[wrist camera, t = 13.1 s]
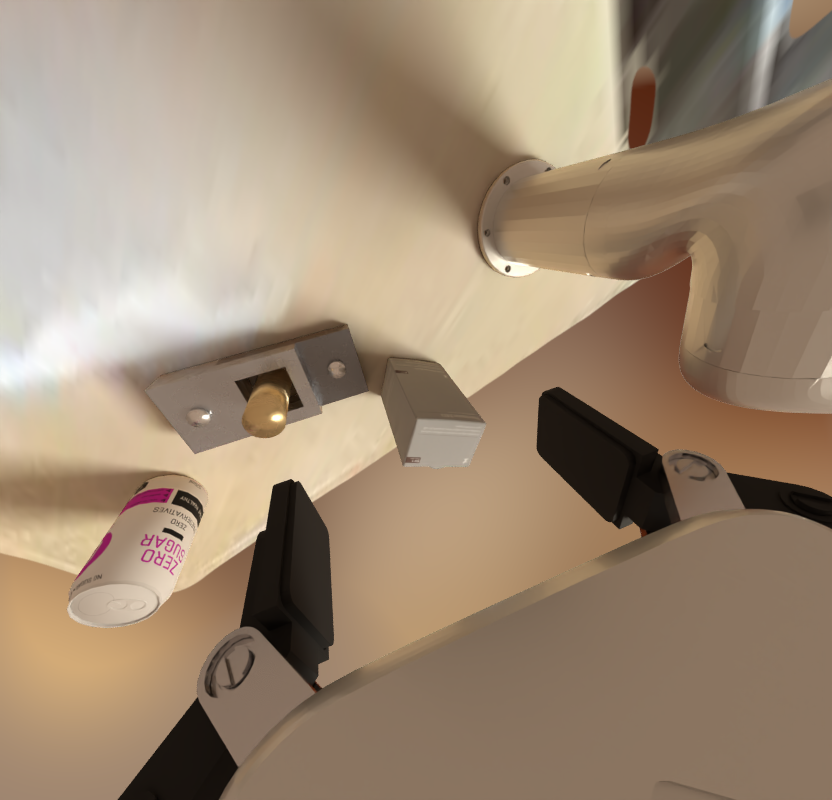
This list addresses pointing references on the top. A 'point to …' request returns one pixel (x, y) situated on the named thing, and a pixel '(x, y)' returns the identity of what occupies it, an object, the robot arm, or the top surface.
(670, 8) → the top surface
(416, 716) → the robot arm
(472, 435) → the skincare box
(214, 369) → the grey plate with window
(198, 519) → the supplement can
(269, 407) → the brass pin
